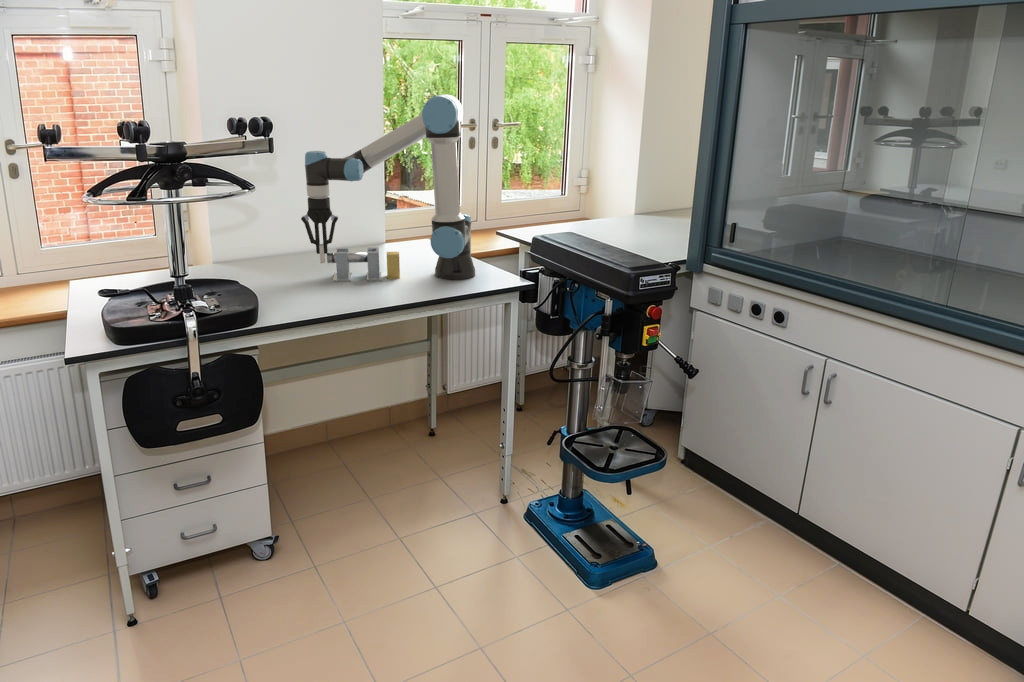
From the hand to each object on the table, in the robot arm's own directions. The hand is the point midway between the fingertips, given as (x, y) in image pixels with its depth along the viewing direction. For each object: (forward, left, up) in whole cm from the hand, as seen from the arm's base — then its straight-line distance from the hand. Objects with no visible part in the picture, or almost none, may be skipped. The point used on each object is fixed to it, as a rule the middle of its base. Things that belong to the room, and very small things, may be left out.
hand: (322, 262), depth 266 cm
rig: (-9, -9, -6) cm, 13 cm away
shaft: (-7, -7, 0) cm, 10 cm away
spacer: (-18, -18, -6) cm, 26 cm away
